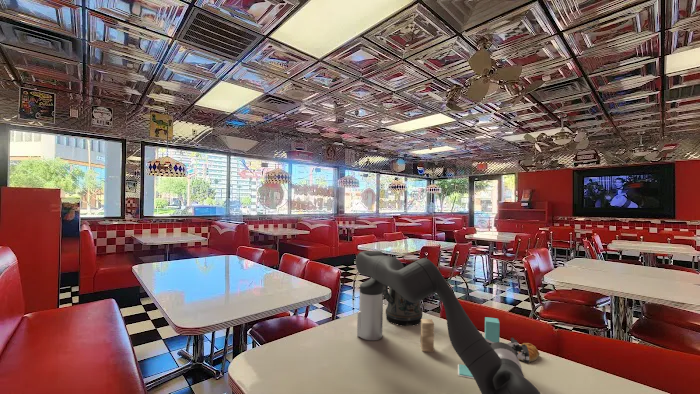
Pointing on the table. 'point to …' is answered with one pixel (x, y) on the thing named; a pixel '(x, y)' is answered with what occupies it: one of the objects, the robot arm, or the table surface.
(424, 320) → the oak block
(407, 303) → the beer stein
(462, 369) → the tile
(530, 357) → the pastry
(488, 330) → the teal block
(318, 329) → the table surface
